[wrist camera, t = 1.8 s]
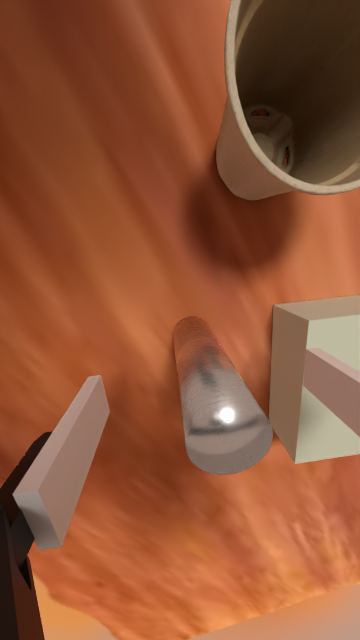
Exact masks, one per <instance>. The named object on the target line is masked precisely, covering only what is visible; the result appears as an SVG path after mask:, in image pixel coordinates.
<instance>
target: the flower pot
mask: <svg viewBox="0 0 360 640" xmlns="http://www.w3.org/2000/svg"><path fill="white" fill-rule="evenodd" d="M224 65H225V82H226V89H227V99H226V104H225V109H224V114H223V119H222V124H221V129H220V134H219V138H218V142H217V148H216V162H217V168H218V172H219V175H220V177H221V178H222V180H223V181H224V183H225V184H226V186H227V187H228V189H229V190H230V191H231V192H232V193H233V194H234V195H236V196H238V197H240V198H243V199H246V200H260V199H264V198H267V197H270V196H274V195H278V194H282V193H287V192H291V191H299V192H302V193H306V194H311V195H333V194H338V193H343V192H348V191H351V190H354V189H357V188H360V0H231V3H230V8H229V13H228V18H227V25H226V34H225V47H224ZM258 109H260V110H266V111H267V112H268V113H269V117H268V116H259V115H256V116H253V114H252V113H253V111H255V110H258ZM287 147H288V152H289V156H288V164H287V166H285V167H284V166H283V164H282V163H283V159H284V155H285V148H287Z"/></svg>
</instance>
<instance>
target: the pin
mask: <svg viewBox="0 0 360 640" xmlns="http://www.w3.org/2000/svg"><path fill="white" fill-rule="evenodd" d="M173 340H174V348H175V357H176V366H177V374H178V383H179V392H180V400H181V409H182V417H183V426H184V435H185V443H186V451H187V454H188V457H189V458H190V460H191V461H192V463H193V464H194V465H195V466H197V467H198V468H200V469H201V470H203V471H205V472H208V473H212V474H219V475H226V474H234V473H238V472H241V471H244V470H246V469H248V468H250V467H252V466H254V465H255V464H256V463H258V462H259V461H260V460H261V459H262V458H263V457H264V456H265V455H266V453H267V452H268V450H269V449H270V446H271V444H272V440H273V430H272V426H271V423H270V422H269V420H268V418H267V417H266V415H265V414H264V412H263V411H262V409H261V407H260V406H259V404H258V403H257V401H256V400H255V398H254V397H253V395H252V393H251V392H250V390H249V389H248V387H247V386H246V384H245V382H244V381H243V379H242V378H241V376H240V375H239V373H238V371H237V370H236V368H235V367H234V365H233V364H232V362H231V360H230V359H229V357H228V356H227V354H226V353H225V351H224V349H223V348H222V346H221V345H220V343H219V342H218V340H217V338H216V337H215V335H214V334H213V332H212V331H211V329H210V327H209V326H208V324H207V323H206V322H205V321H204V320H203V319H201V318H198V317H186V318H184V319H182V320H180V321H179V322H178V323H177V325H176V326H175V328H174V331H173Z"/></svg>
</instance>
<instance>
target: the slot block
mask: <svg viewBox="0 0 360 640" xmlns="http://www.w3.org/2000/svg"><path fill="white" fill-rule="evenodd" d="M316 347H318V348H320V349H321V350H323V351H325V352H326V353H328V354H330V355H332V356H333V357H335V358H337V359H339V360H340V361H342V362H344V363H346V364H347V365H349V366H351V367H353V368H354V369H356V370H358V371H360V295H352V296H344V297H335V298H327V299H318V300H310V301H301V302H293V303H284V304H276V305H273V328H272V352H271V377H270V402H269V422H270V423H271V426H272V428H273V430H274V431H275V433H276V434H277V436H278V438H279V439H280V441H281V442H282V444H283V446H284V447H285V449H286V450H287V452H288V454H289V455H290V457H291V458H292V460H293V461H294V463H295V464H297V463H303V462H310V461H316V460H323V459H330V458H336V457H343V456H349V455H356V454H360V437H359V436H358V435H357V434H356V433H355V432H353V431H352V430H351V429H350V428H349V427H348V426H347V425H346V424H345V423H344V422H342V421H341V420H340V419H339V418H338V417H337V416H336V415H335V414H334V413H333V412H331V411H330V410H329V409H328V408H327V407H326V406H325V405H324V404H323V403H322V402H321V401H319V400H318V399H317V398H316V397H315V396H314V395H313V394H312V393H311V392H310V391H308V390H307V389H306V388H305V387H304V386H303V379H304V367H305V356H306V349H308V348H316Z"/></svg>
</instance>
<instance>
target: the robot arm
mask: <svg viewBox="0 0 360 640" xmlns="http://www.w3.org/2000/svg"><path fill="white" fill-rule="evenodd" d="M303 386H304V387H305V388H306V389H307V390H308V391H310V392H311V393H312V394H313V395H314V396H315V397H316V398H317V399H318V400H319V401H321V402H322V403H323V404H324V405H325V406H326V407H327V408H328V409H329V410H330V411H331V412H333V413H334V414H335V415H336V416H337V417H338V418H339V419H340V420H341V421H342V422H344V423H345V424H346V425H347V426H348V427H349V428H350V429H351V430H352V431H353V432H355V433H356V434H357V435H358V436H359V437H360V371H358V370H356V369H354V368H353V367H351V366H349V365H347V364H346V363H344V362H342V361H340V360H339V359H337V358H335V357H333V356H332V355H330V354H328V353H326V352H325V351H323V350H321V349H320V348H318V347H316V348H308V349H306V356H305V367H304V379H303ZM109 413H110V410H109V405H108V401H107V397H106V393H105V389H104V385H103V381H102V377H101V375H97V376H89V377H88V378H87V380H86V381H85V383H84V384H83V386H82V388H81V389H80V391H79V392H78V394H77V395H76V397H75V398H74V400H73V401H72V403H71V405H70V406H69V408H68V409H67V411H66V412H65V414H64V415H63V417H62V418H61V420H60V422H59V423H58V425H57V426H56V428H55V429H54V431H53V432H45V433H44V434H42V435H41V436H40V437H39V438H38V439H37V440H36V441H35V442H33V444H32V445H31V447H30V448H29V449H28V451H27V452H26V454H25V456H23V458H22V459H21V461H20V462H19V465H18V466H16V468H15V469H14V470H13V472H12V473H11V475H10V476H9V477H8V479H7V480H6V482H5V483H4V484H3V486H2V487H1V489H0V640H45V639H44V634H43V629H42V624H41V618H40V612H39V607H38V602H37V597H36V591H35V586H34V580H33V575H32V570H31V564H30V560H29V558H28V556H27V554H28V552H29V550H30V548H31V546H32V543H33V541H34V540H35V542H36V545H37V547H38V549H39V550H45V549H51V548H57V547H62V544H63V542H64V539H65V536H66V533H67V530H68V528H69V525H70V522H71V519H72V516H73V514H74V511H75V508H76V505H77V502H78V500H79V497H80V494H81V491H82V488H83V486H84V483H85V480H86V477H87V475H88V472H89V469H90V466H91V463H92V461H93V458H94V455H95V452H96V449H97V447H98V444H99V441H100V438H101V435H102V433H103V430H104V427H105V424H106V421H107V419H108V416H109Z"/></svg>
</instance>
